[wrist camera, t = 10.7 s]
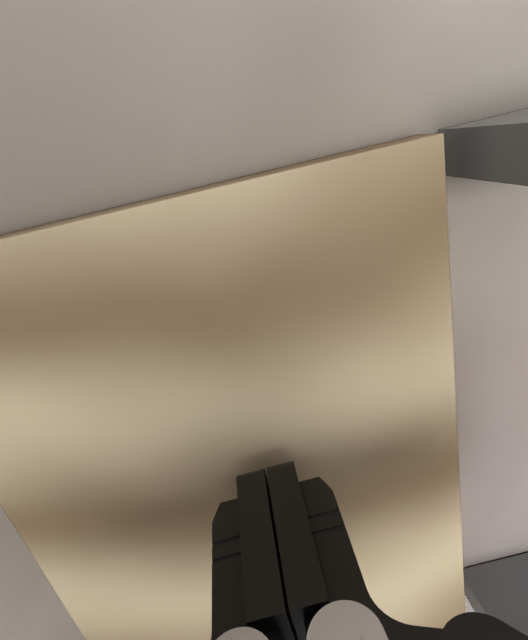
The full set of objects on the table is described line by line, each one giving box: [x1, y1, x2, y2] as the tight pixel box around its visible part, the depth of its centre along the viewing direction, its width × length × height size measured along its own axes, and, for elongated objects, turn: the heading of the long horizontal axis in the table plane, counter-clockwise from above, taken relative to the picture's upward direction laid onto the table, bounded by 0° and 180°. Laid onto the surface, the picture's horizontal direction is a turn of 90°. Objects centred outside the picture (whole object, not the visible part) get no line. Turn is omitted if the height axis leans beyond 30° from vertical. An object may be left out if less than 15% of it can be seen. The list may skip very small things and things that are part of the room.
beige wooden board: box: [0, 133, 465, 640], centre depth 12 cm, size 16×12×1 cm
